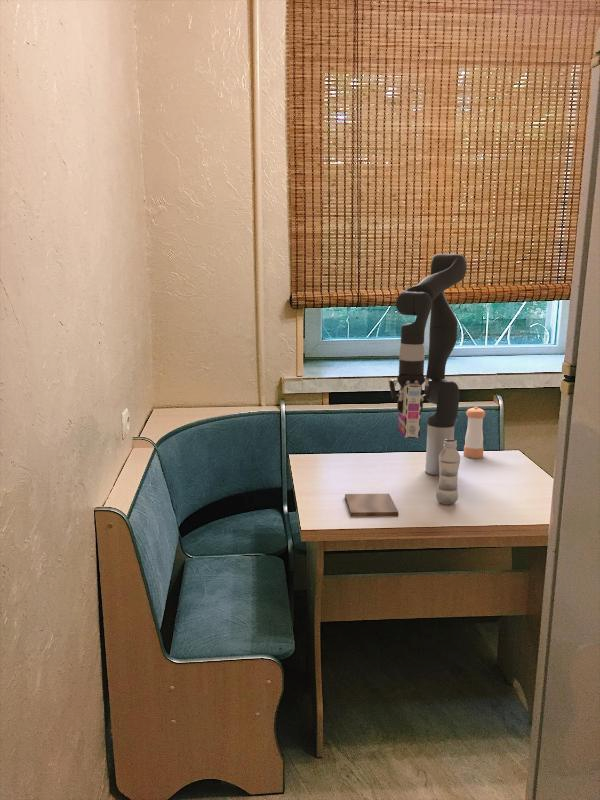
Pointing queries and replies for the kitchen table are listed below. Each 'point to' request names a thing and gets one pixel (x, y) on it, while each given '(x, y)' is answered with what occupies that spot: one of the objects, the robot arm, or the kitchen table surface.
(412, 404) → the candy bar box
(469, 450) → the pepper shaker
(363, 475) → the kitchen table surface
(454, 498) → the plastic bottle
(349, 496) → the walnut board
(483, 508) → the kitchen table surface
